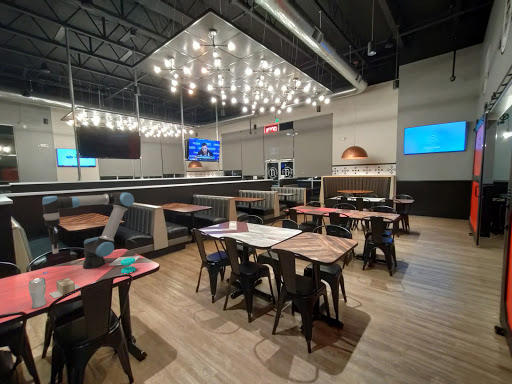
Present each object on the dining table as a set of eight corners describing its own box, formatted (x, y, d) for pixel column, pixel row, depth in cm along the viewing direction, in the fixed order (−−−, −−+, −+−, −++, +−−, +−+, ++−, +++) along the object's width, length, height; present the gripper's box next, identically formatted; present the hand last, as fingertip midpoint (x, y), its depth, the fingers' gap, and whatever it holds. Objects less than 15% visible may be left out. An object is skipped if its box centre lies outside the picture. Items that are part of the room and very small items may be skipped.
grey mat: (76, 284, 152) (76, 284, 152) (82, 288, 146) (82, 288, 146) (49, 294, 140) (49, 293, 140) (54, 298, 135) (54, 298, 135)
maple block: (67, 277, 148) (74, 282, 142) (68, 286, 149) (75, 291, 142) (56, 281, 143) (62, 286, 137) (56, 290, 144) (63, 295, 137)
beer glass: (27, 307, 126) (25, 281, 125) (43, 300, 132) (41, 276, 131) (34, 310, 123) (32, 283, 122) (50, 303, 130) (48, 278, 129)
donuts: (133, 261, 167) (118, 262, 164) (134, 273, 168) (119, 275, 165) (136, 256, 177) (122, 258, 174) (137, 268, 177) (122, 270, 174)
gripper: (41, 219, 150) (45, 253, 152) (47, 221, 143) (51, 256, 145) (55, 217, 156) (59, 249, 158) (62, 219, 149) (66, 253, 151)
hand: (55, 253), depth 152 cm, fingers closed
